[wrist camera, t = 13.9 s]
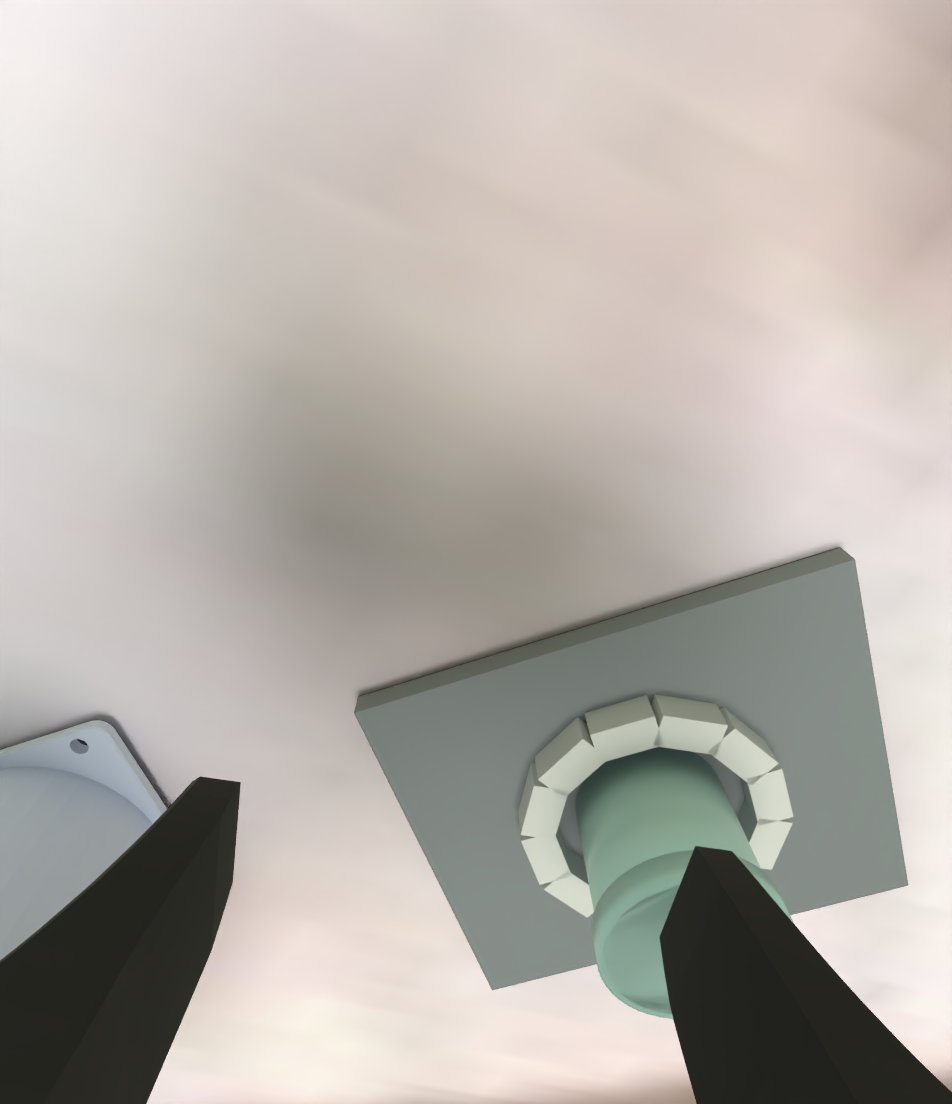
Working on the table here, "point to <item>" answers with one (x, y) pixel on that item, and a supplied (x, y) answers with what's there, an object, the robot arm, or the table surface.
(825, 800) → the socket board
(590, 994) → the table surface
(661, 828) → the cup
